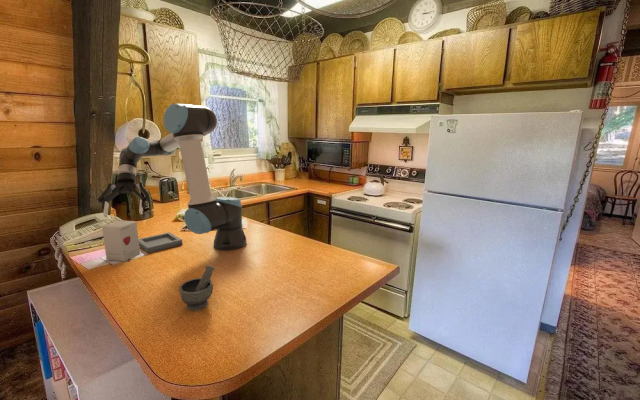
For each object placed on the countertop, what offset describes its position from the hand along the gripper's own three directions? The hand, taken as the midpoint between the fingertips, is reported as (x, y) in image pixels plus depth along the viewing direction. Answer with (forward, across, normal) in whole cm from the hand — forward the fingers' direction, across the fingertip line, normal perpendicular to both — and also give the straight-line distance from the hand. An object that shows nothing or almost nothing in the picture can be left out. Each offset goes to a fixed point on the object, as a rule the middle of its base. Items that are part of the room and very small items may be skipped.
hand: (123, 214), depth 134 cm
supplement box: (+18, 0, -5) cm, 19 cm away
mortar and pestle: (+53, -31, +30) cm, 69 cm away
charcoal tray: (+11, -13, -12) cm, 21 cm away
